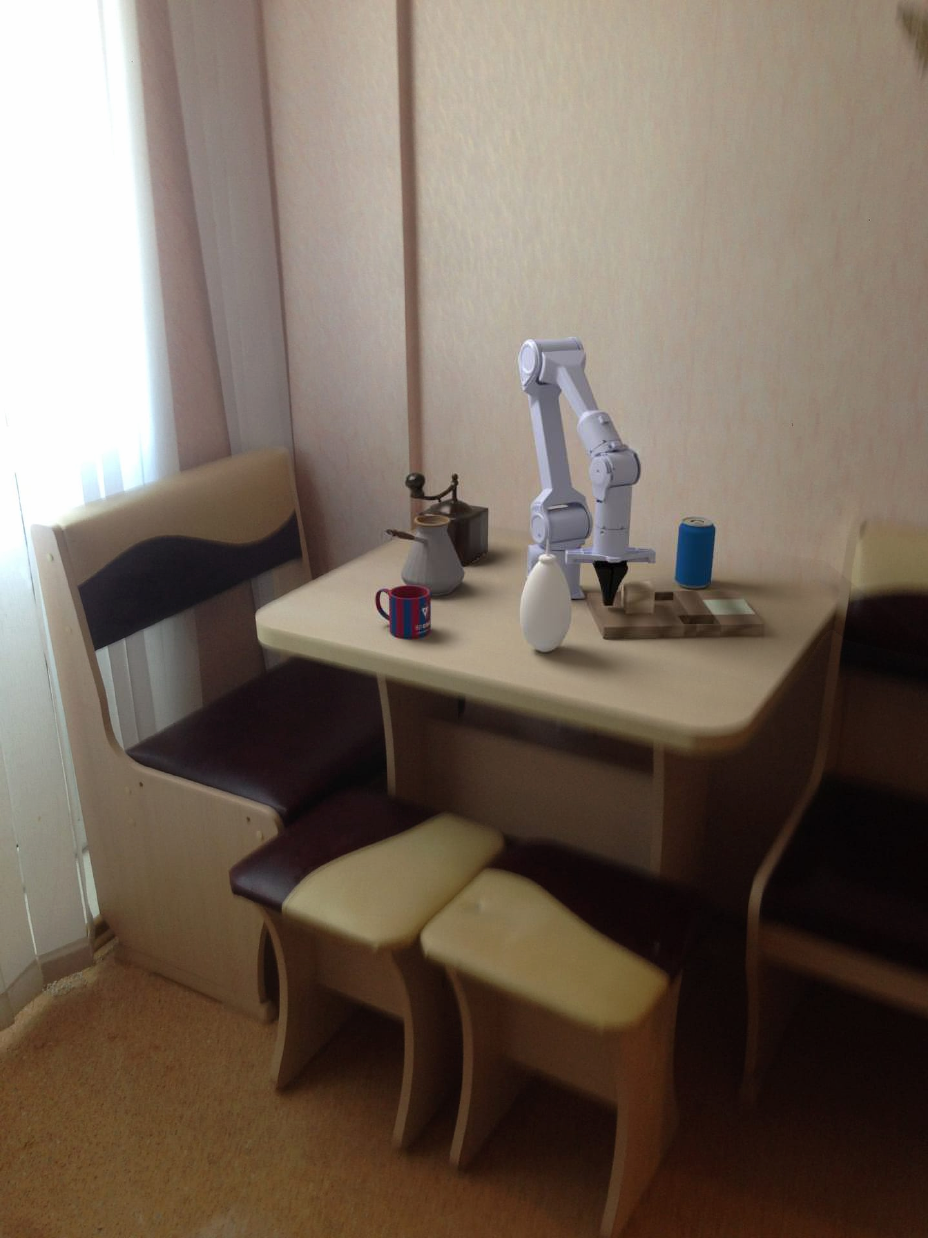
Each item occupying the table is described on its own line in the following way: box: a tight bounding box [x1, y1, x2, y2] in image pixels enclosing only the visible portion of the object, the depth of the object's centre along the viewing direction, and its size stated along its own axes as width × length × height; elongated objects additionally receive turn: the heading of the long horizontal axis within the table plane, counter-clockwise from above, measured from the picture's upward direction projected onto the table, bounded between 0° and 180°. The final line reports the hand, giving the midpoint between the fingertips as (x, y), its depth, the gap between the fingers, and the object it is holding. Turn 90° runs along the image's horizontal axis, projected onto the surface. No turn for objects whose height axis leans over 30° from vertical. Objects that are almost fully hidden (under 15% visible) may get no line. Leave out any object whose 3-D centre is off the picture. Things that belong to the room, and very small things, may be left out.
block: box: [621, 580, 656, 614], centre depth 178 cm, size 4×4×4 cm
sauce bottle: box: [519, 540, 573, 653], centre depth 165 cm, size 8×8×18 cm
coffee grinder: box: [404, 472, 490, 567], centre depth 206 cm, size 16×11×18 cm
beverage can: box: [674, 516, 717, 590], centre depth 194 cm, size 6×6×12 cm
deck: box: [586, 589, 765, 640], centre depth 180 cm, size 26×16×2 cm, turn 93°
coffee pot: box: [379, 515, 466, 597], centre depth 187 cm, size 21×12×15 cm, turn 152°
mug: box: [374, 584, 432, 640], centre depth 175 cm, size 7×10×7 cm
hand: (607, 603), depth 179 cm, fingers closed
